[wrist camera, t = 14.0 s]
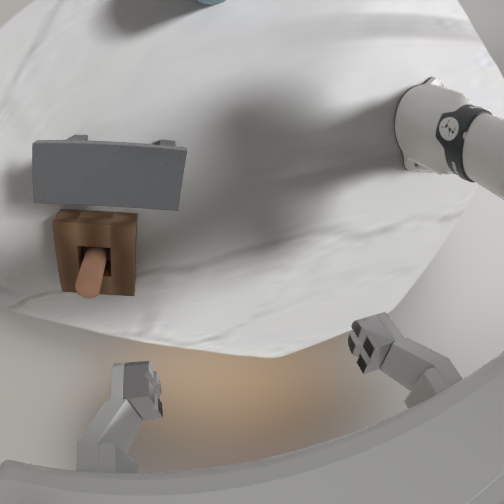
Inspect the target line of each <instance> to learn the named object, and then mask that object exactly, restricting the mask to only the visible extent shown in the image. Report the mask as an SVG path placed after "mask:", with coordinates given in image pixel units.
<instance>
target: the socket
mask: <svg viewBox="0 0 504 504" xmlns="http://www.w3.org/2000/svg"><path fill="white" fill-rule="evenodd" d="M137 217H138V214H136V213H120V212H103V211H84V210H63V209H61V210H60V212H59V213H58V215H57V216H56V218H55V219H54V221H53V229H54V239H55V248H56V256H57V263H58V269H59V276H60V282H61V287H62V291H64V292H77V291H76V288H75V284H76V280H77V277H78V274H79V271H80V268H81V265H82V262H83V259H84V256H85V255H84V246H89V247H106V248H110V250H111V261H106V264H105V269H104V273H103V278H102V282H101V287H100V292H99V294H107V295H124V296H134V293H135V271H136V236H137ZM77 293H78V292H77Z"/></svg>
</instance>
